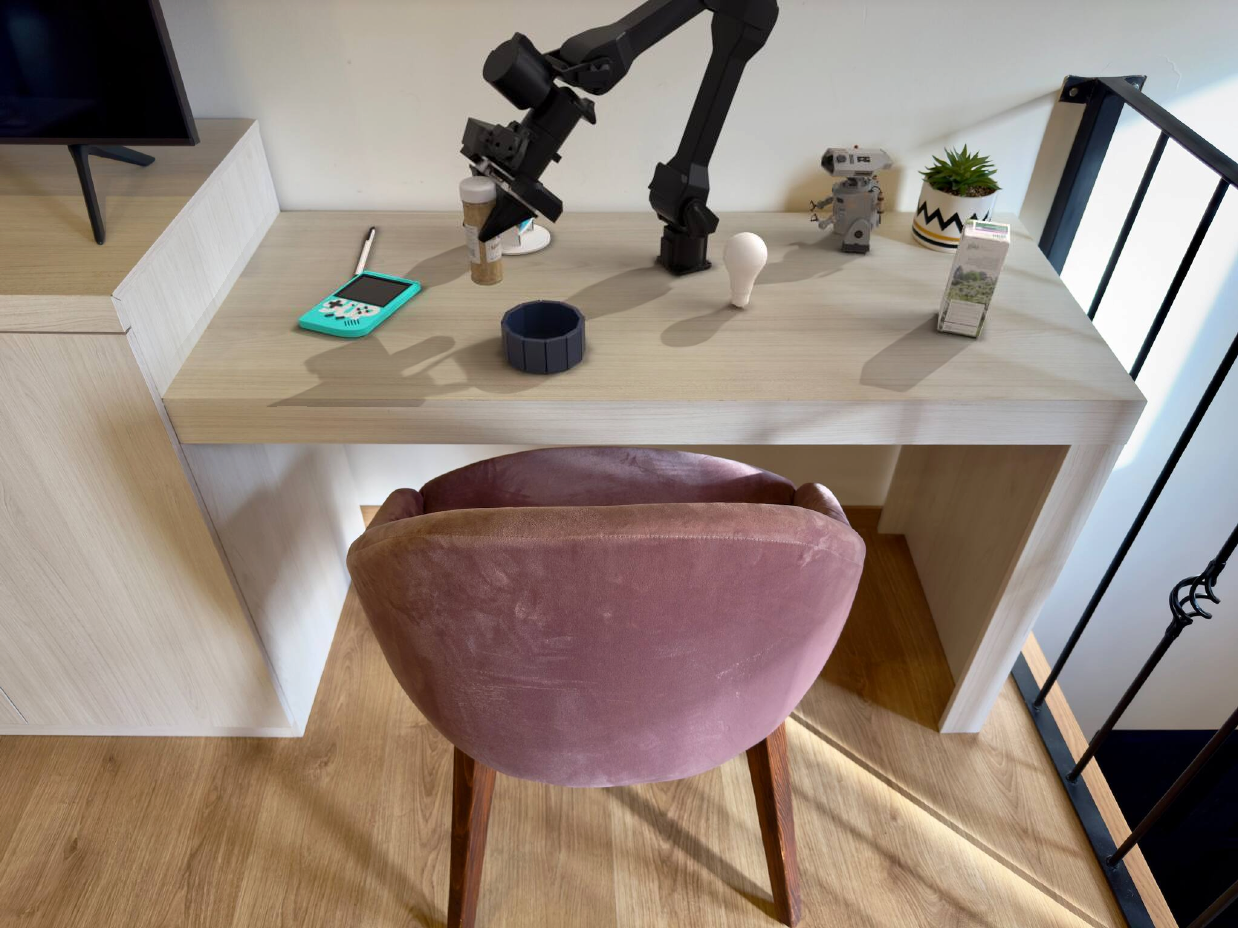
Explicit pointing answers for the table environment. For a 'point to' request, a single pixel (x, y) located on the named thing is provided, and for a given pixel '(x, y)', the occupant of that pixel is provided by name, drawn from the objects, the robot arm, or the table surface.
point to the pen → (365, 251)
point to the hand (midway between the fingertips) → (472, 234)
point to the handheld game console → (360, 305)
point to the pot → (543, 336)
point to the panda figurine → (523, 236)
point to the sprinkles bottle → (477, 208)
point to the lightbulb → (743, 264)
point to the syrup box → (973, 277)
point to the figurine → (854, 194)
